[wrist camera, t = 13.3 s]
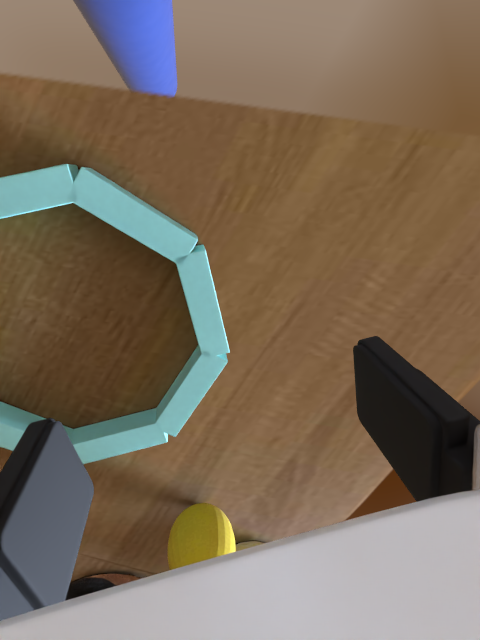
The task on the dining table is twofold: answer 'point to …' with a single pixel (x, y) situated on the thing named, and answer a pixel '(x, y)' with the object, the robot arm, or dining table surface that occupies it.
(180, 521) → the lemon
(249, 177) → the dining table surface
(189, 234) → the ring
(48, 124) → the dining table surface
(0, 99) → the dining table surface
